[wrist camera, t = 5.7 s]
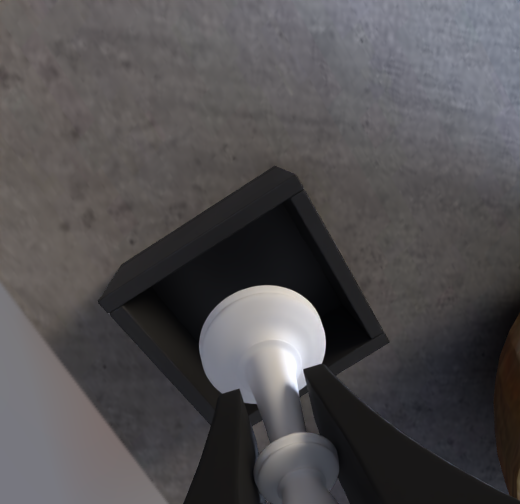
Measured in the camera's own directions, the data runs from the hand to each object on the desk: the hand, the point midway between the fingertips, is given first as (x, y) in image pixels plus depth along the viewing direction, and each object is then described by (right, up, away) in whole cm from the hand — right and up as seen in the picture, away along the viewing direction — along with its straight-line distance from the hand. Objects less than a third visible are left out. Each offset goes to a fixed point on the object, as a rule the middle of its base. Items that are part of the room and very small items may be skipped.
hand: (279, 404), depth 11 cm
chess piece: (-1, +1, +3) cm, 4 cm away
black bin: (-1, +3, +9) cm, 9 cm away
